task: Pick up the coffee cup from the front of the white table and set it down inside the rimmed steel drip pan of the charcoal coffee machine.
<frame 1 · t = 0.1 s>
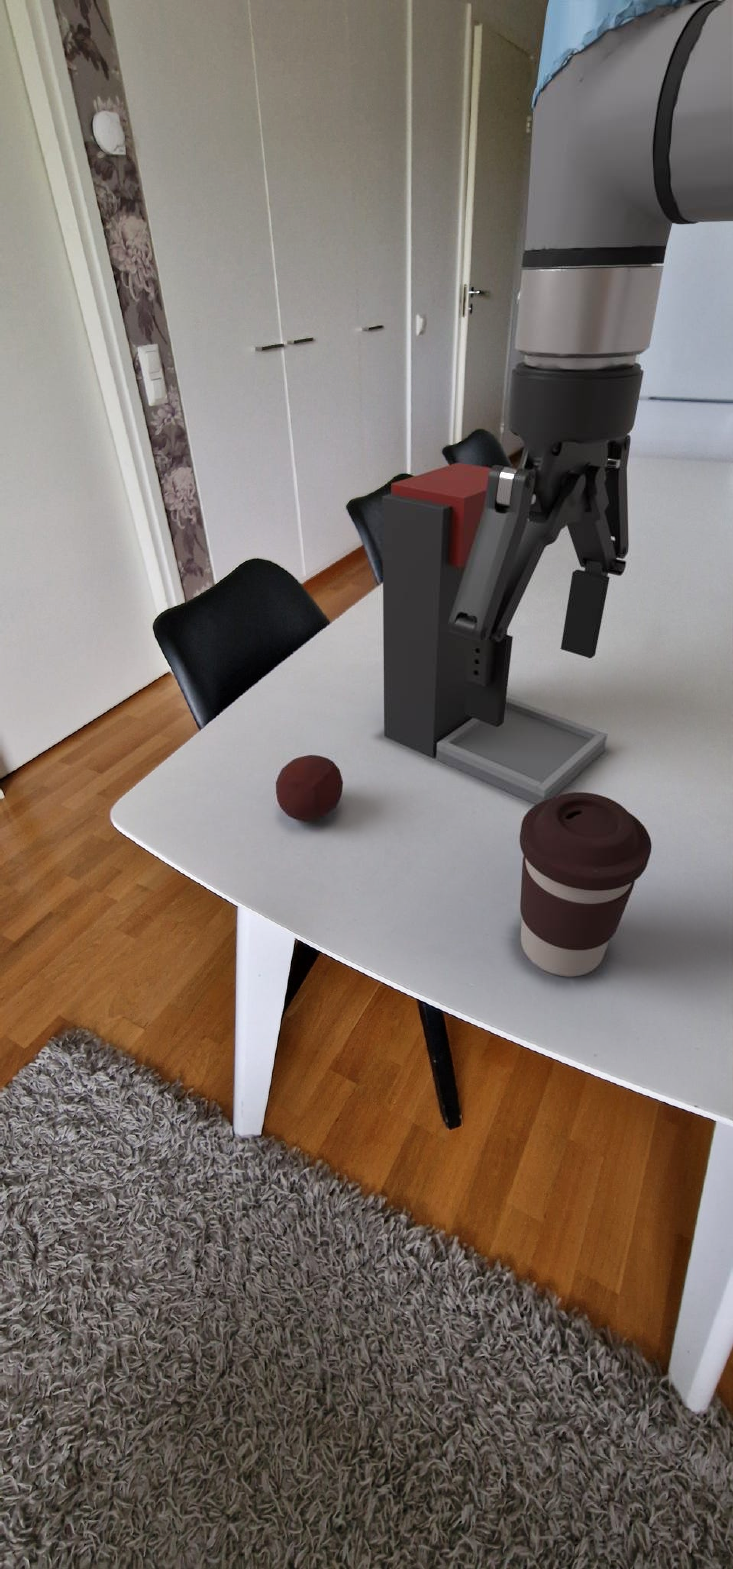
hand: (534, 683, 54), 24 cm above the table, tool pointing down, fingers open, 13 cm apart
coffee cup: (560, 947, 63), on the table
coffee machine: (520, 755, 88), on the table
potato: (310, 814, 80), on the table
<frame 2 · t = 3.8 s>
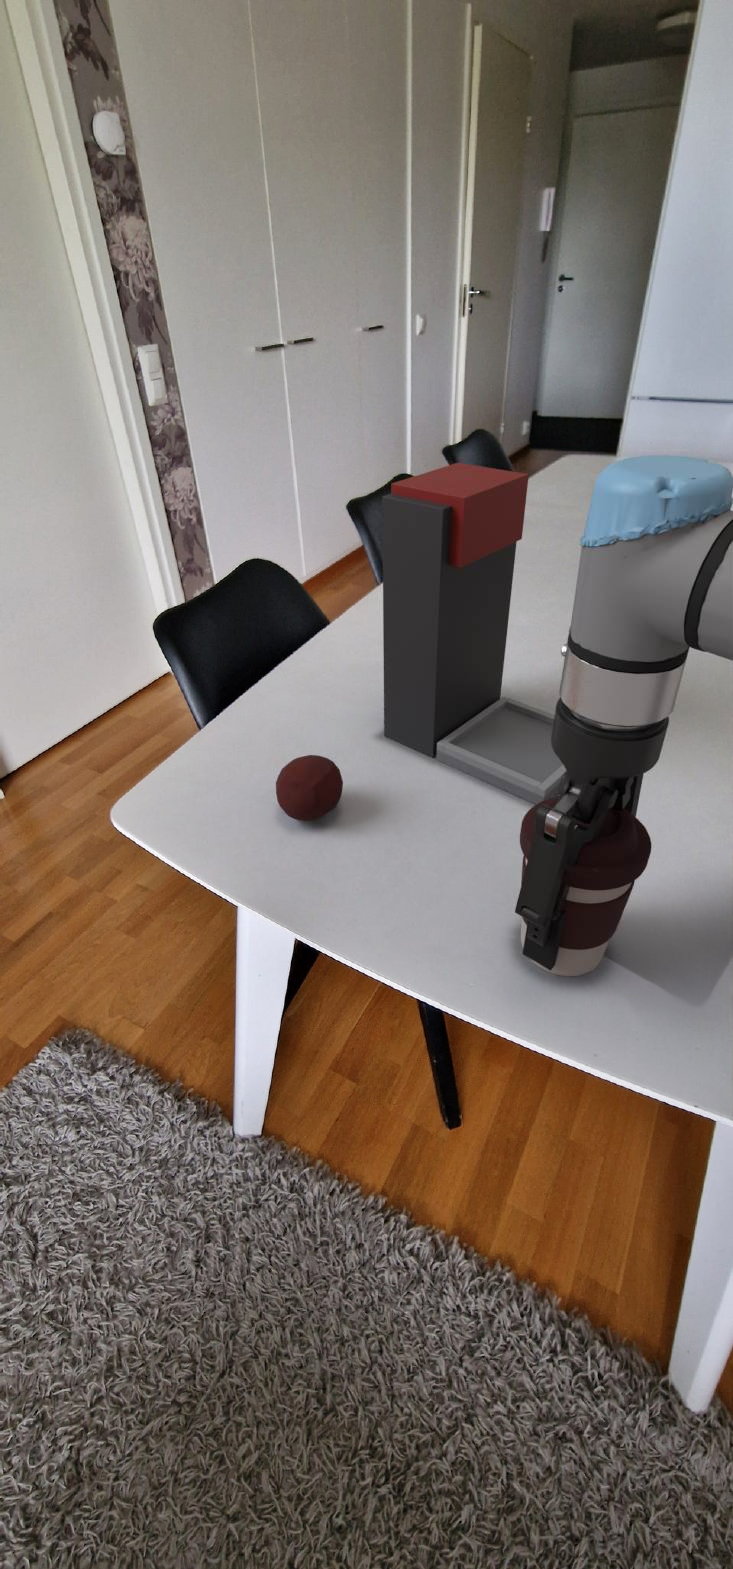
hand: (564, 928, 62), 2 cm above the table, tool pointing down, fingers closed on coffee cup, 8 cm apart
coffee cup: (560, 947, 63), on the table, touching gripper
everything else where it was.
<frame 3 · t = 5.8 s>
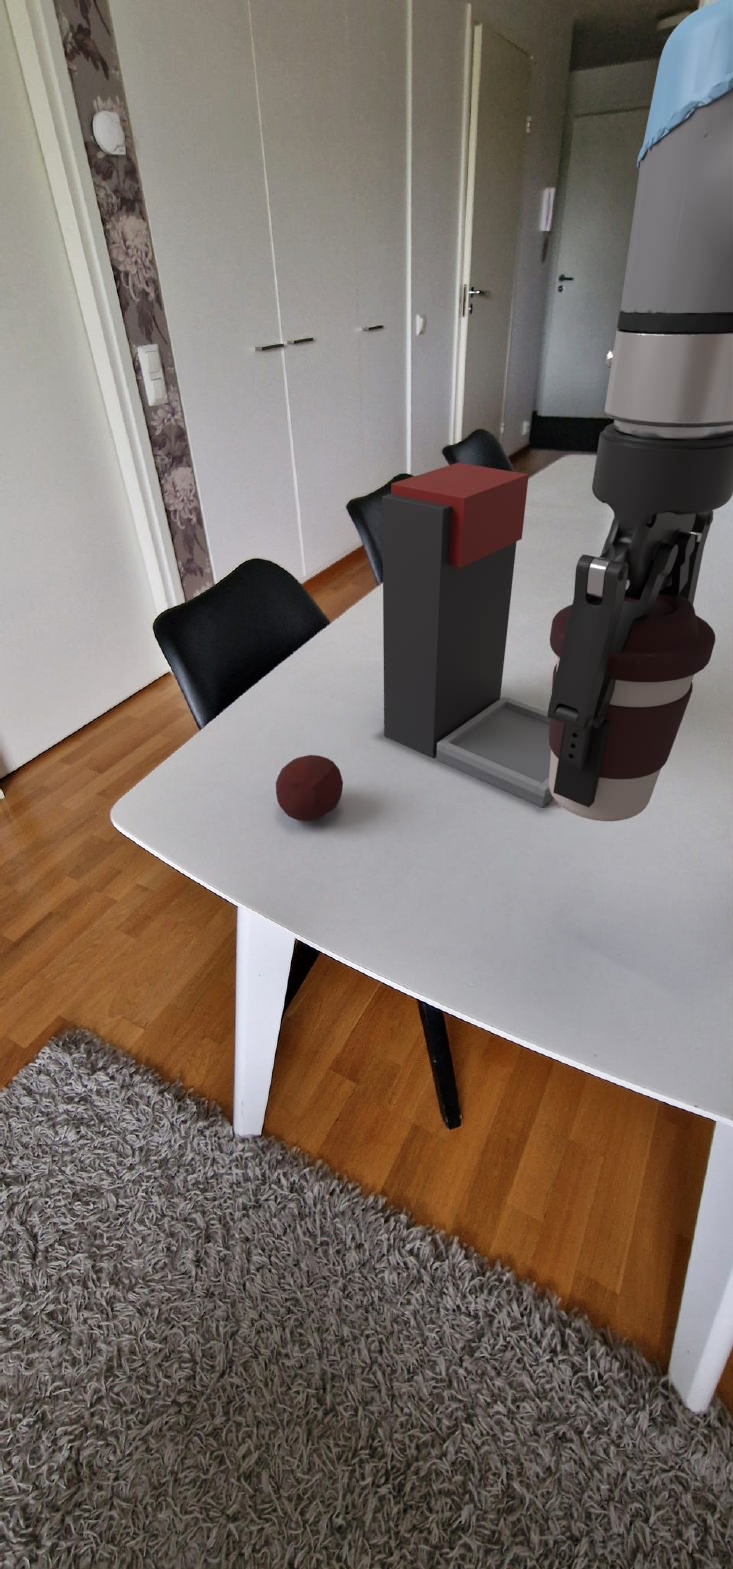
hand: (603, 768, 51), 20 cm above the table, tool pointing down, fingers closed on coffee cup, 8 cm apart
coffee cup: (597, 796, 53), point 17 cm above the table, touching gripper
everything else where it was.
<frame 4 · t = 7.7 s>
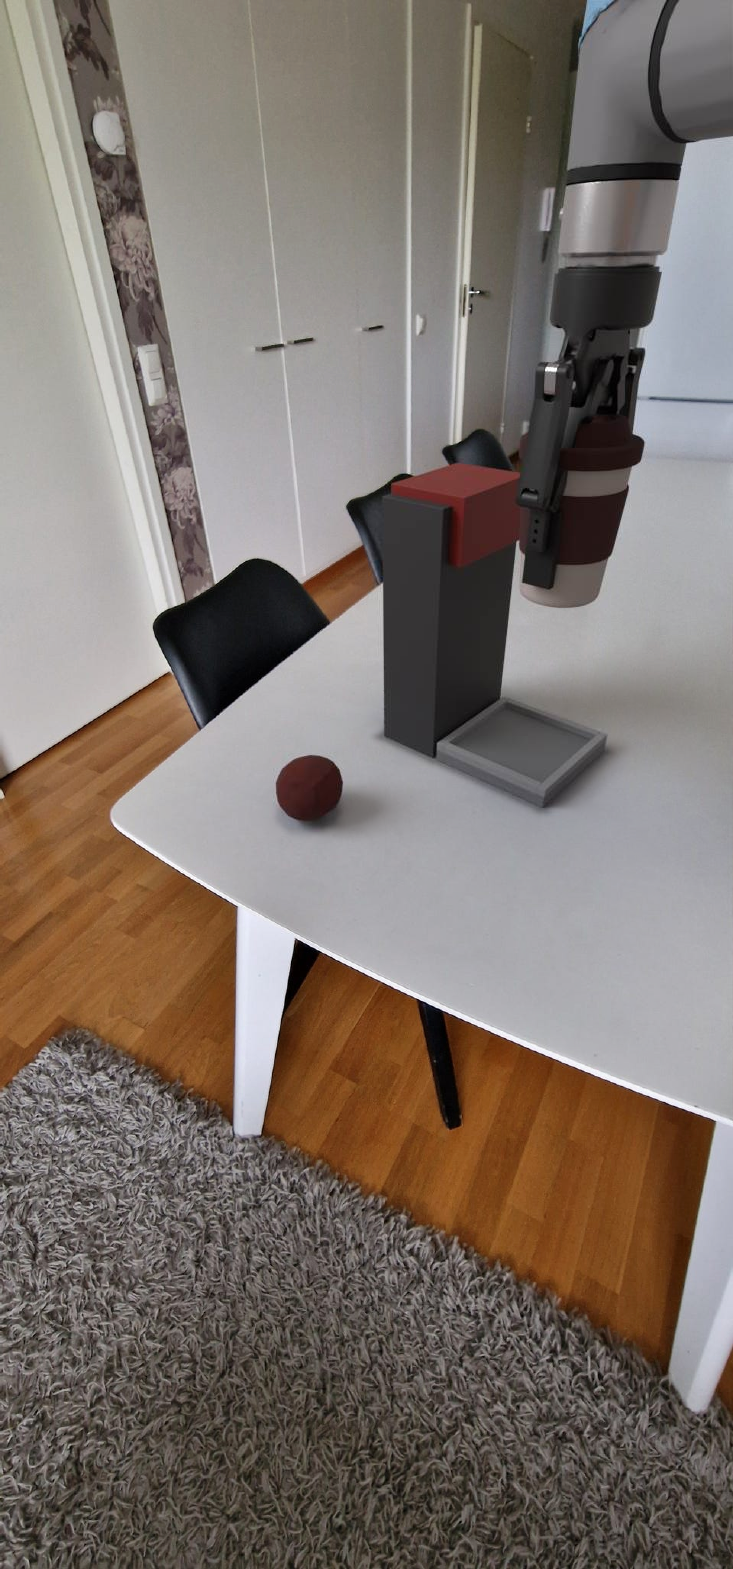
hand: (562, 570, 64), 27 cm above the table, tool pointing down, fingers closed on coffee cup, 8 cm apart
coffee cup: (557, 596, 66), point 24 cm above the table, touching gripper
everything else where it was.
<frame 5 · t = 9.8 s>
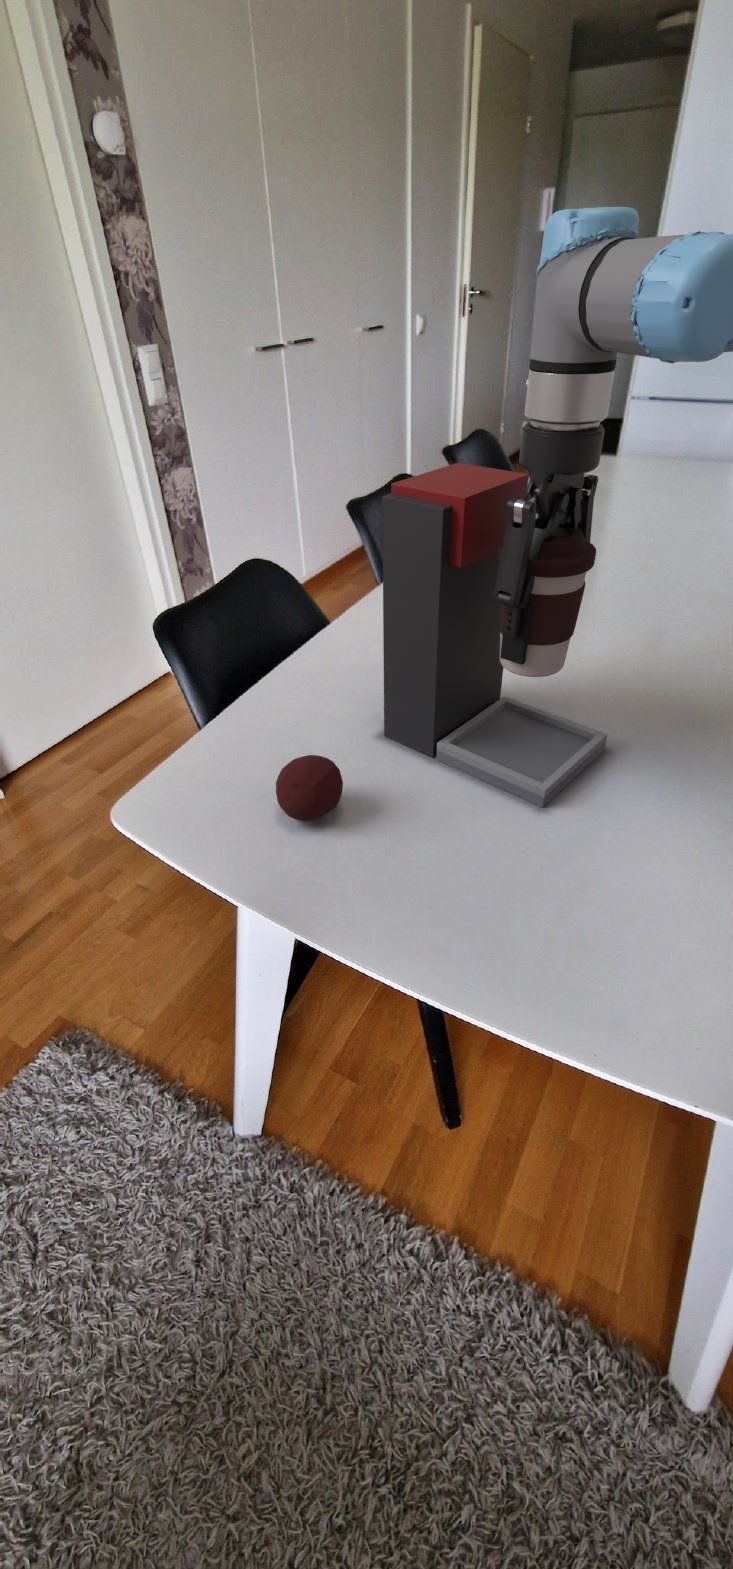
hand: (534, 645, 79), 15 cm above the table, tool pointing down, fingers closed on coffee cup, 8 cm apart
coffee cup: (530, 665, 80), point 12 cm above the table, touching gripper
everything else where it was.
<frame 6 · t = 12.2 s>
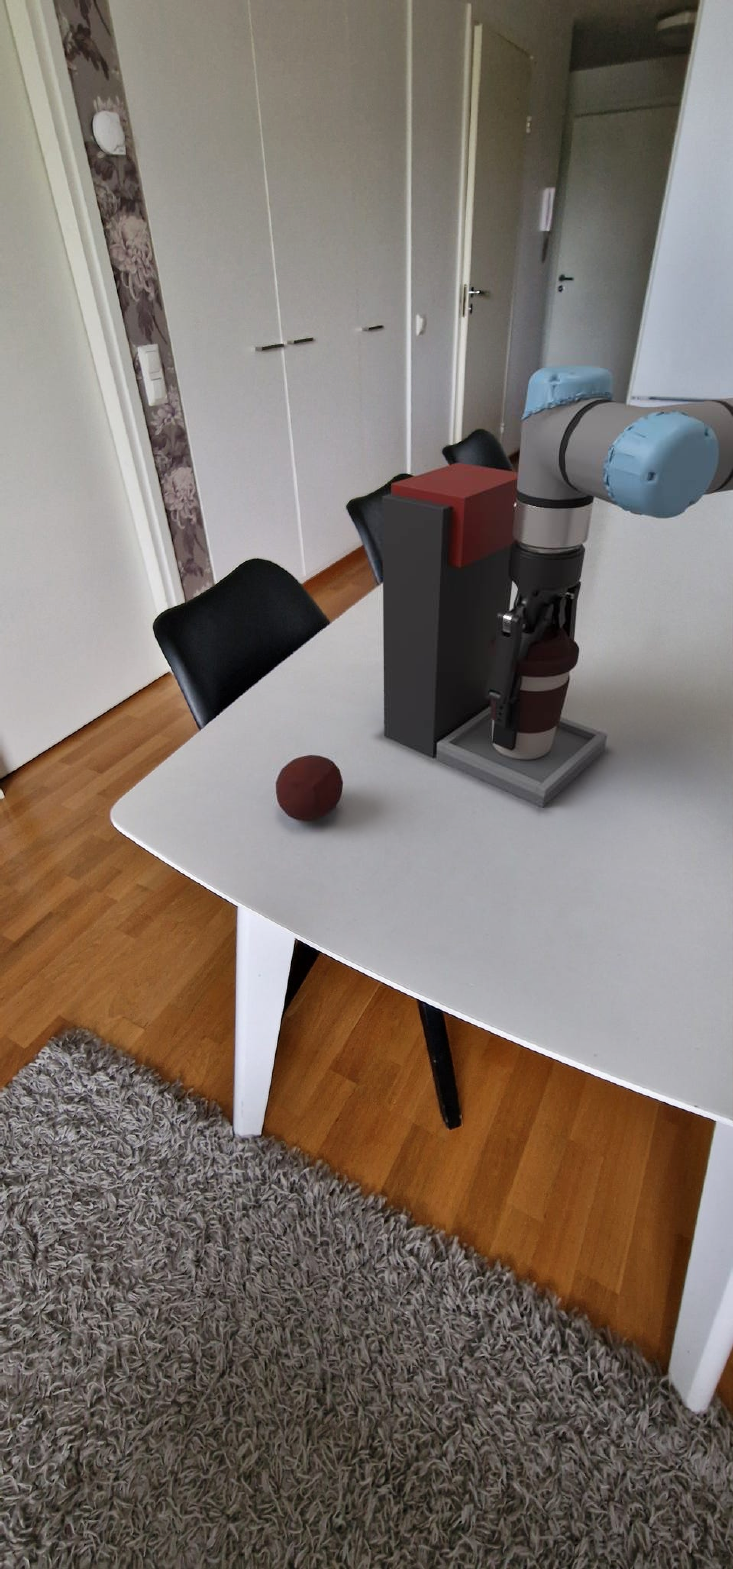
hand: (523, 729, 85), 4 cm above the table, tool pointing down, fingers closed on coffee cup, 8 cm apart
coffee cup: (520, 746, 87), point 1 cm above the table, touching coffee machine, gripper
everything else where it was.
when the fingers open (4 cm above the table, at t = 12.3 s): coffee cup stays where it is, resting on coffee machine.
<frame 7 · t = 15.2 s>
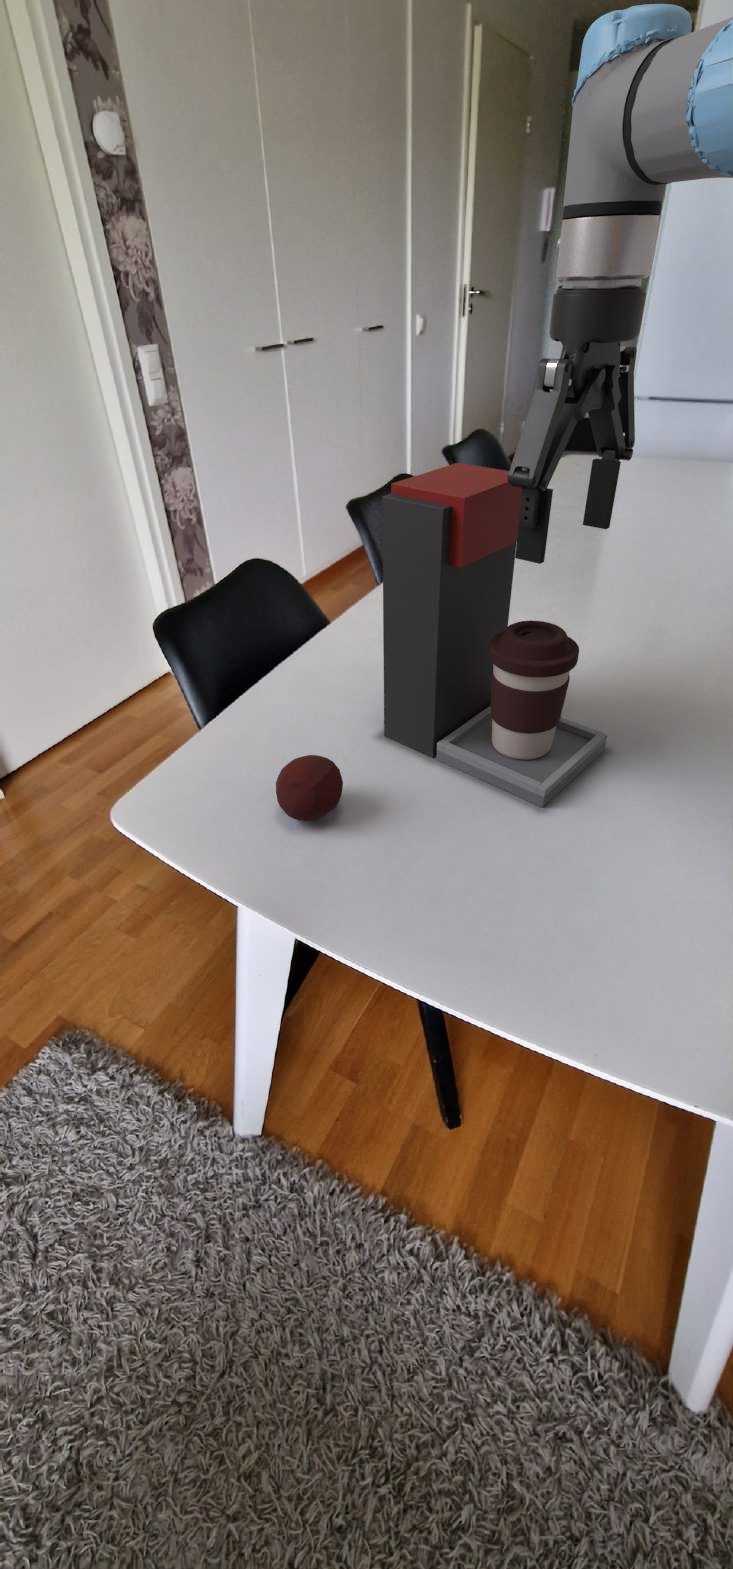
hand: (564, 542, 71), 27 cm above the table, tool pointing down, fingers open, 13 cm apart
coffee cup: (520, 746, 87), point 1 cm above the table, touching coffee machine
everything else where it was.
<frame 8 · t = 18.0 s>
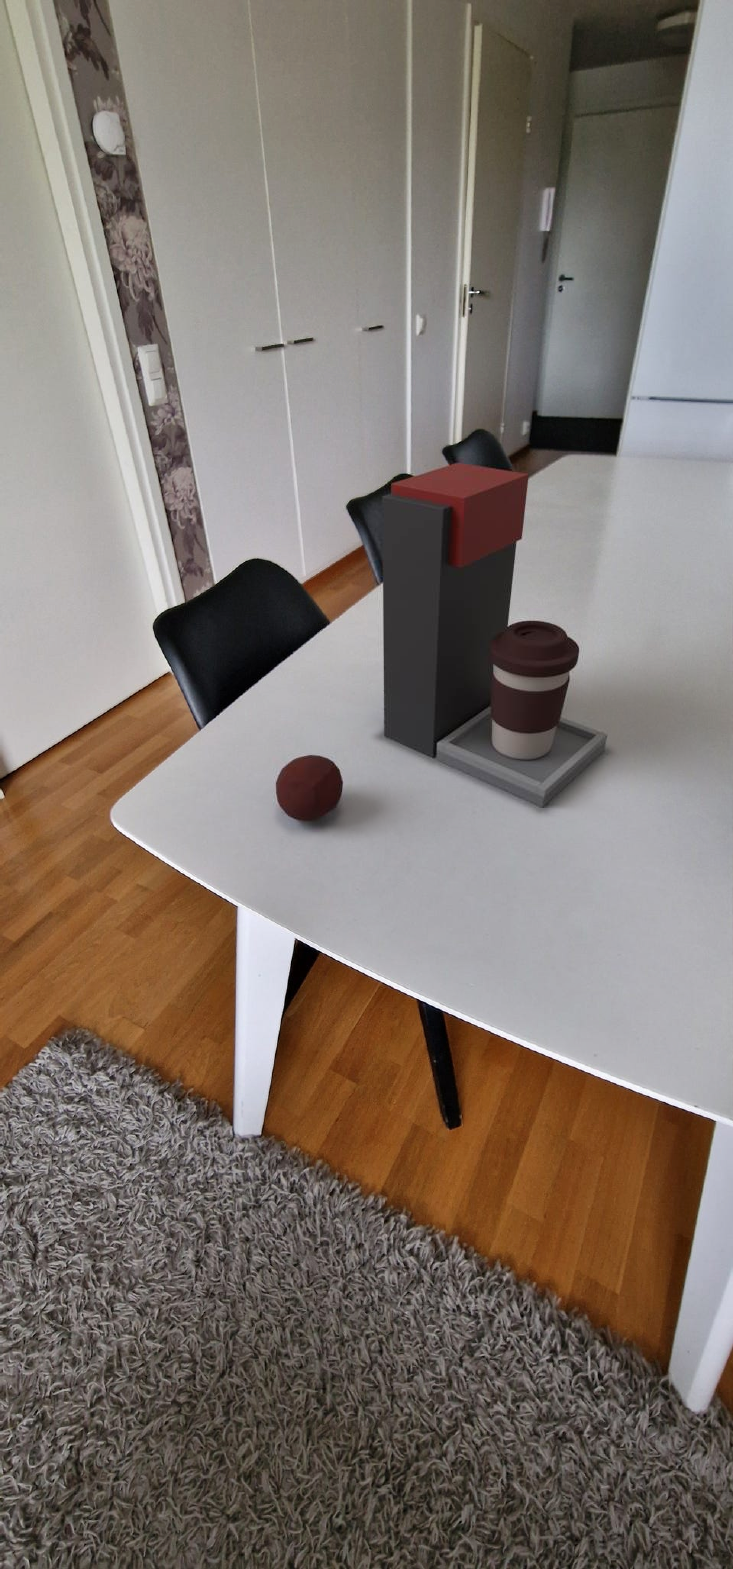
nothing on the table moved.
at the end: coffee cup 0.1 cm off-centre on the coffee machine, point 1.3 cm above the coffee machine's base; coffee cup tilted 0°; the gripper is holding nothing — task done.
